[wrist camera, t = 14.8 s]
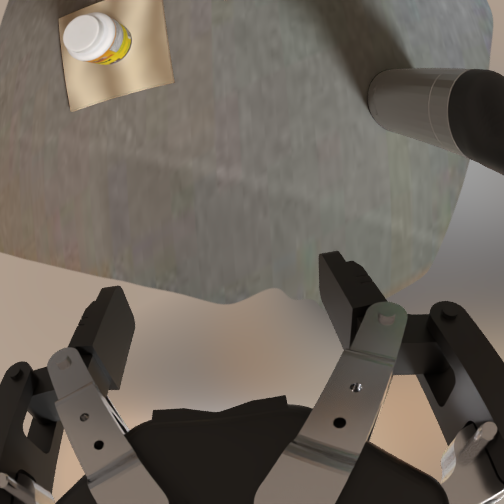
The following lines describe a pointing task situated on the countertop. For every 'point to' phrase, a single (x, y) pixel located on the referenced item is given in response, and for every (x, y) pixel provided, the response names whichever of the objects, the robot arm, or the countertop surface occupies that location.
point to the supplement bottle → (97, 39)
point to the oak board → (132, 65)
